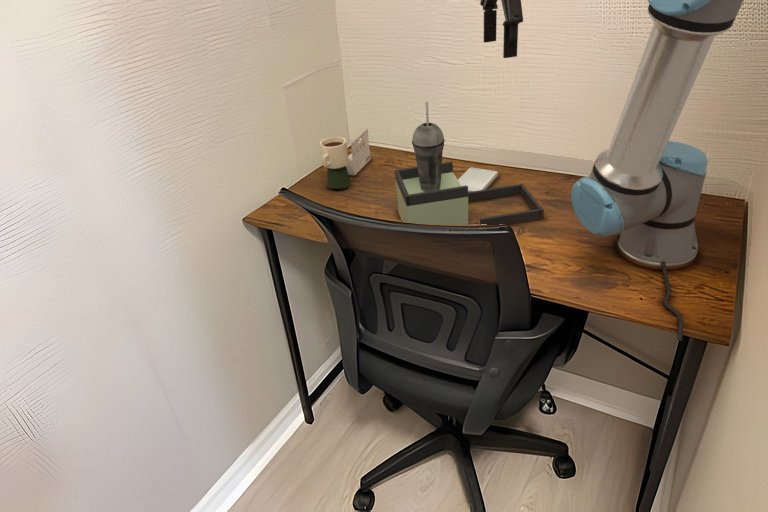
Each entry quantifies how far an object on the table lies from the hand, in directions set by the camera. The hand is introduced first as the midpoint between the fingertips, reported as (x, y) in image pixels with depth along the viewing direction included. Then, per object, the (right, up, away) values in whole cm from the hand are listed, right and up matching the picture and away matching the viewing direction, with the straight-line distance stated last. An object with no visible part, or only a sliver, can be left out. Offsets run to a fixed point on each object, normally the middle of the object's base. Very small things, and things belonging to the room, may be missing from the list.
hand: (499, 49), depth 128 cm
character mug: (-37, -26, +34) cm, 57 cm away
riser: (-5, -35, +15) cm, 38 cm away
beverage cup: (-14, -29, +9) cm, 34 cm away
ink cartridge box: (-32, -19, +43) cm, 57 cm away
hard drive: (-1, -26, +28) cm, 38 cm away
